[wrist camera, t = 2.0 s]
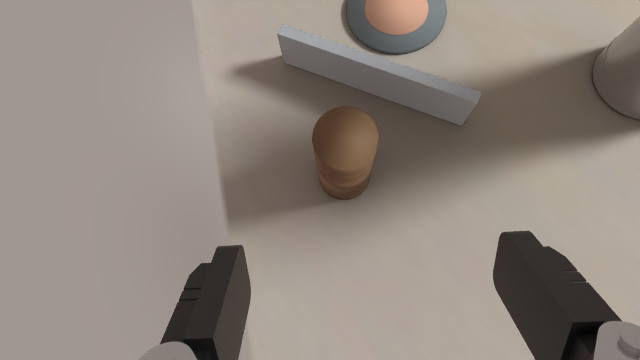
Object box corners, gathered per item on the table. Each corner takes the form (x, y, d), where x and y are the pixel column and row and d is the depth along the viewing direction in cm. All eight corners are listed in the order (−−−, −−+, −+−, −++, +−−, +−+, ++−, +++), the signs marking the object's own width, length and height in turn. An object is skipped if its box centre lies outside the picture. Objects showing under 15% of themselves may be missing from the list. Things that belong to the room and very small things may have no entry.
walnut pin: (376, 162, 39) (388, 120, 30) (358, 207, 38) (364, 178, 28) (330, 144, 40) (327, 97, 30) (311, 188, 39) (301, 153, 29)
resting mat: (458, -12, 44) (460, -16, 44) (426, 67, 42) (427, 64, 41) (367, -40, 46) (368, -44, 46) (331, 35, 44) (331, 31, 43)
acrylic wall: (465, 116, 40) (481, 91, 35) (461, 125, 40) (477, 103, 35) (288, 53, 43) (282, 23, 38) (284, 62, 43) (277, 33, 38)
